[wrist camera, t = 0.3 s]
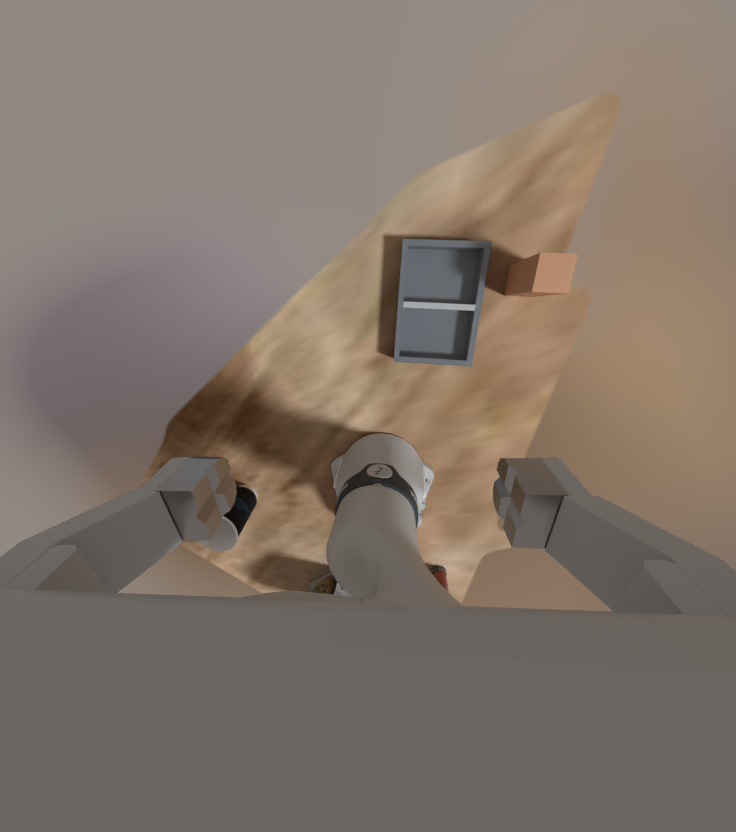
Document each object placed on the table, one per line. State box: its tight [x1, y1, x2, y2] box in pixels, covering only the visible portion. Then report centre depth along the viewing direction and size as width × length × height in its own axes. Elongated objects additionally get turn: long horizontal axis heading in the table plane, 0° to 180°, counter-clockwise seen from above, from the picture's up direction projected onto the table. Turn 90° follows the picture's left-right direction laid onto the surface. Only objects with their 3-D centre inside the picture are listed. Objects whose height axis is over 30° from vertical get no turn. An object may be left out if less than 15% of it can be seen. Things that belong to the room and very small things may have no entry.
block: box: [504, 253, 578, 297], centre depth 38 cm, size 4×4×10 cm
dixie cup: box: [198, 485, 258, 551], centre depth 56 cm, size 8×8×11 cm
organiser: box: [394, 239, 492, 366], centre depth 44 cm, size 16×12×3 cm
